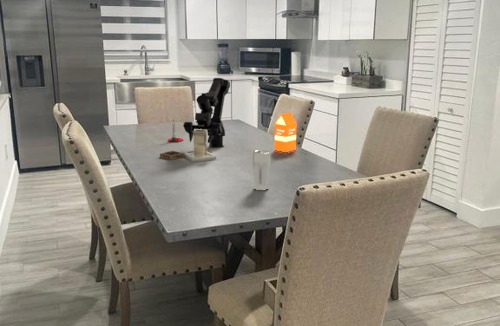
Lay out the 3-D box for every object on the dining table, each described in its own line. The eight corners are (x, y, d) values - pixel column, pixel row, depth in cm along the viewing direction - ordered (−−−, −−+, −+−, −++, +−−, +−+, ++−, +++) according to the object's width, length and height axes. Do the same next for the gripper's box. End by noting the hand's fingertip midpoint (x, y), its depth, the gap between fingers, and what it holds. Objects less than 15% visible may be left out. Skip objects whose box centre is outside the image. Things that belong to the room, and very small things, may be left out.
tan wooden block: (197, 155, 243) (196, 129, 239) (206, 155, 242) (206, 130, 238) (193, 157, 238) (193, 131, 235) (203, 158, 237) (203, 131, 234)
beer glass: (251, 186, 194) (251, 149, 191) (268, 186, 195) (269, 149, 191) (253, 191, 187) (253, 153, 184) (270, 191, 188) (271, 153, 184)
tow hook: (171, 139, 287) (166, 141, 278) (171, 117, 284) (166, 119, 275) (185, 140, 286) (180, 142, 277) (184, 118, 283) (180, 120, 274)
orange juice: (295, 150, 259) (297, 113, 254) (285, 153, 252) (286, 115, 247) (284, 148, 264) (285, 111, 259) (274, 150, 257) (274, 113, 253)
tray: (207, 154, 248) (207, 151, 247) (216, 159, 237) (216, 156, 237) (184, 156, 242) (184, 153, 242) (193, 162, 232) (193, 158, 232)
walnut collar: (172, 154, 247) (172, 150, 247) (184, 156, 242) (184, 153, 242) (159, 157, 241) (159, 153, 240) (171, 160, 236) (171, 156, 235)
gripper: (183, 105, 239) (176, 131, 232) (220, 106, 236) (214, 133, 228) (189, 119, 249) (182, 144, 241) (224, 120, 245) (218, 146, 237)
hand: (199, 141), depth 236 cm, fingers open, 9 cm apart
